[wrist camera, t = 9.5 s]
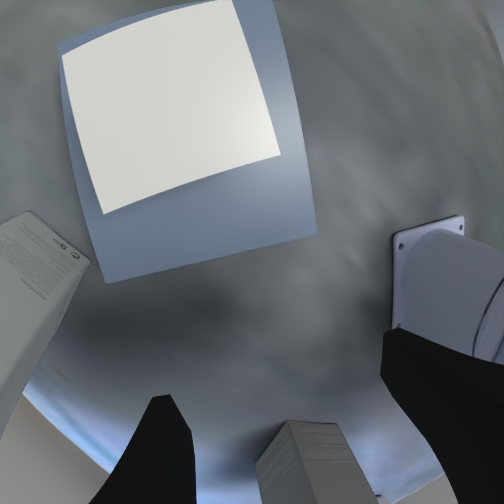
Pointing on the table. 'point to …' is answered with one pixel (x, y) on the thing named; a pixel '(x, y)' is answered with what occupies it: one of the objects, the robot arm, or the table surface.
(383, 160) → the table surface
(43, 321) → the skincare box
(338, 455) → the skincare box
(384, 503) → the bevelled white case
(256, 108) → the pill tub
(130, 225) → the box
